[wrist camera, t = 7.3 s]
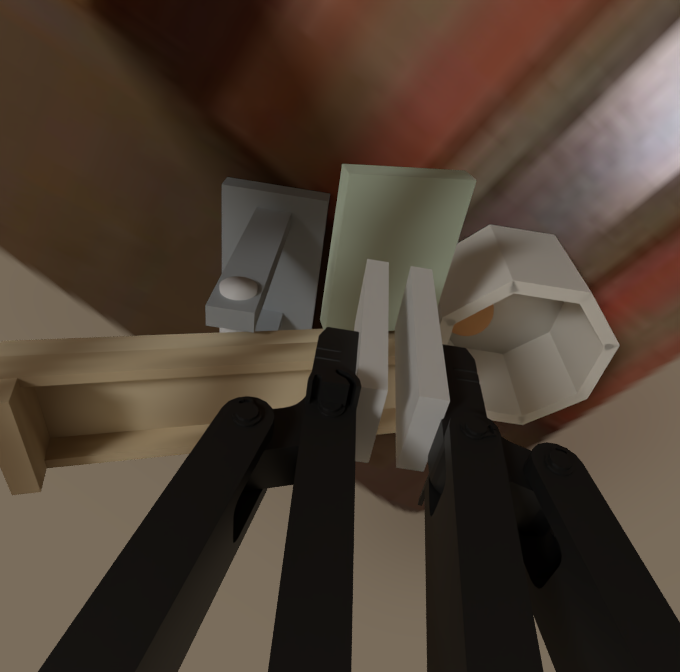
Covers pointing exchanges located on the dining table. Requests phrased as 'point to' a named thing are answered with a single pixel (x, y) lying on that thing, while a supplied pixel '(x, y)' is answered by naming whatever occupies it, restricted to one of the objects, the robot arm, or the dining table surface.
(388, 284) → the robot arm
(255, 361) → the lever
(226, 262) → the fulcrum
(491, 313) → the ball
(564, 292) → the cup
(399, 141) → the dining table surface
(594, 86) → the dining table surface
